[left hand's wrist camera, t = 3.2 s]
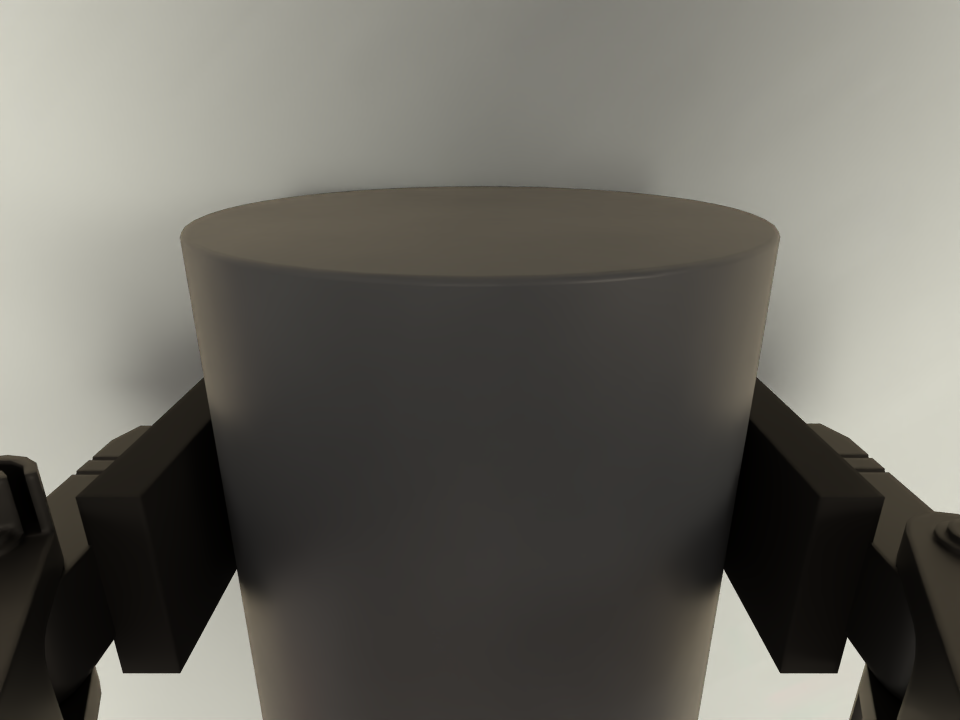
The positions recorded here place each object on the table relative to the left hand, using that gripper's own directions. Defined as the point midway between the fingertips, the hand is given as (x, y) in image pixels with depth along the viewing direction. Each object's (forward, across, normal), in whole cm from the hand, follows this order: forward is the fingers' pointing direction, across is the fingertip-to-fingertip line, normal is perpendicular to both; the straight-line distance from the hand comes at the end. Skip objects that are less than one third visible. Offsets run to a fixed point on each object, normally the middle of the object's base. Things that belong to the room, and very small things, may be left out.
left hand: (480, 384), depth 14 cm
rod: (0, 0, -7) cm, 7 cm away
